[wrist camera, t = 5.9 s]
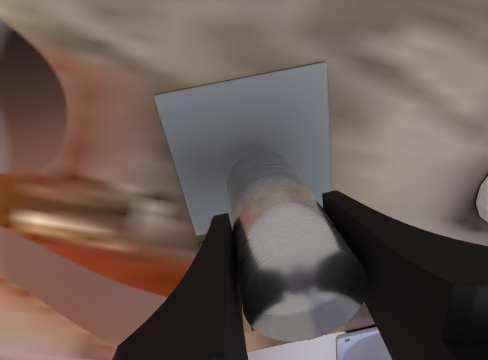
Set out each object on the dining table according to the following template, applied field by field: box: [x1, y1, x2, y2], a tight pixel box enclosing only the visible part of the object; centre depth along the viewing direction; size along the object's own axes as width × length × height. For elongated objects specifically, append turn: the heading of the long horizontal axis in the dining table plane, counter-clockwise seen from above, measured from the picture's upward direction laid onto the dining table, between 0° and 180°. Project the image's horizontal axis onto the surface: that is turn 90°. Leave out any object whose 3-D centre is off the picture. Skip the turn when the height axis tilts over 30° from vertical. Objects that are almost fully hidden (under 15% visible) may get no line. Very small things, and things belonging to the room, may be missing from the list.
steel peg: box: [227, 151, 368, 341], centre depth 13 cm, size 4×4×8 cm
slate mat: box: [154, 62, 331, 236], centre depth 19 cm, size 10×10×1 cm
